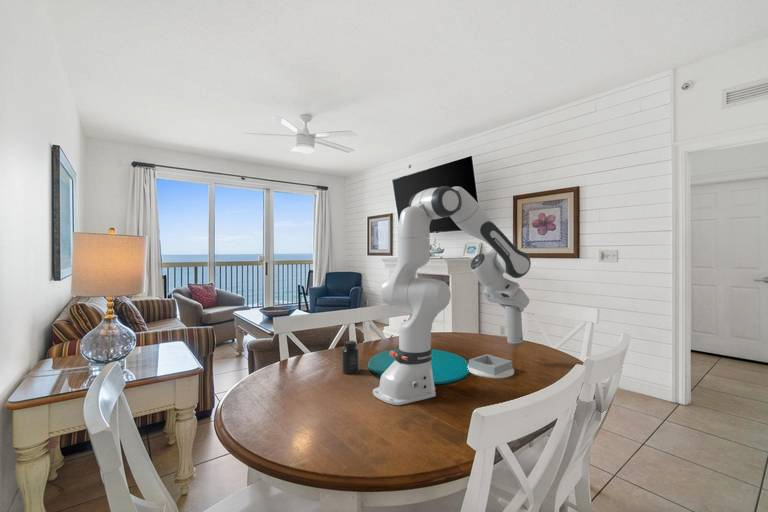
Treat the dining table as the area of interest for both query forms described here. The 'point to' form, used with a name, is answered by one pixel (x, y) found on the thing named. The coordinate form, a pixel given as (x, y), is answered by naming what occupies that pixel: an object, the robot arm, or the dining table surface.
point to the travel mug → (513, 325)
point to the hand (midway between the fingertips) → (514, 309)
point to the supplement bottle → (350, 358)
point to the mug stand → (490, 367)
